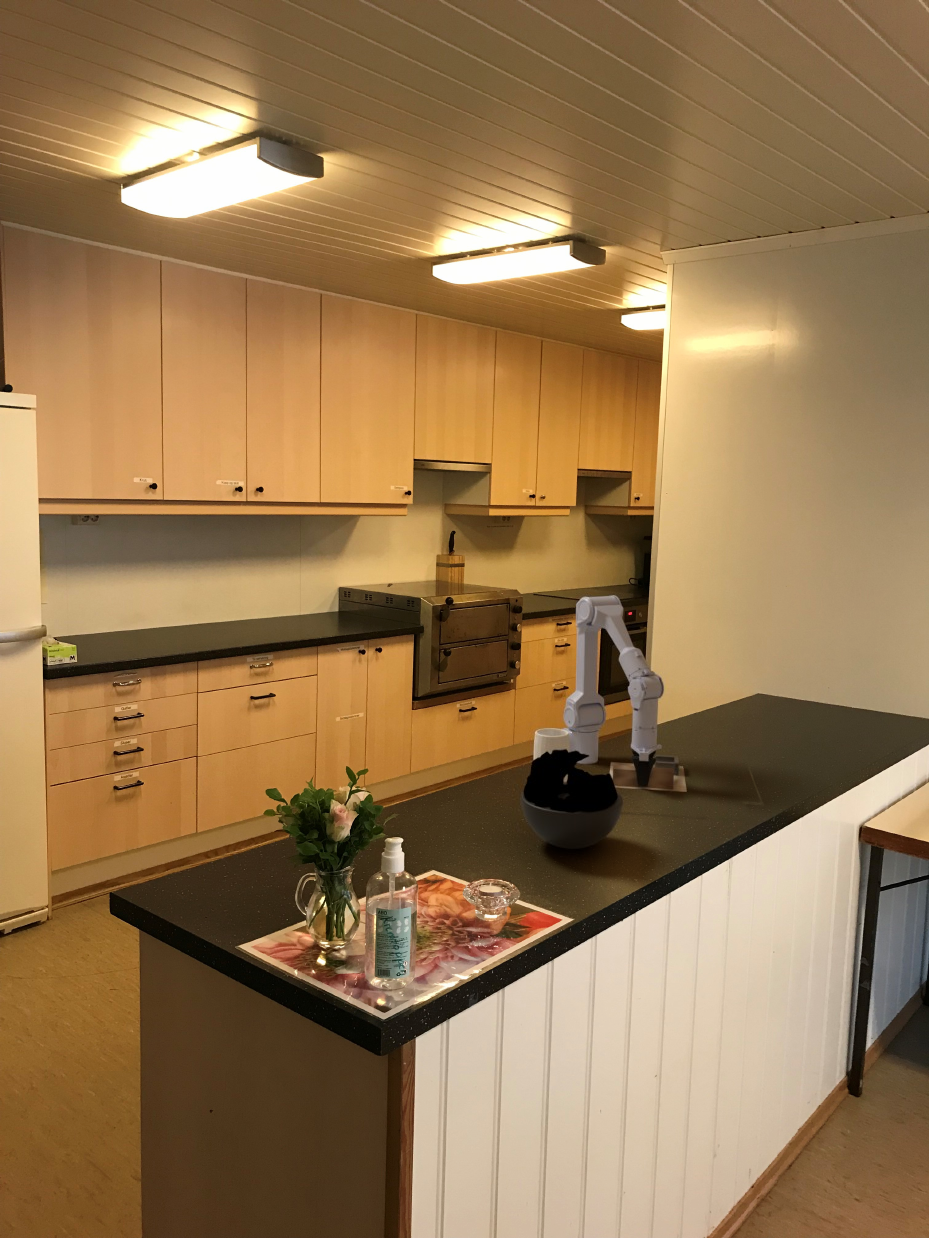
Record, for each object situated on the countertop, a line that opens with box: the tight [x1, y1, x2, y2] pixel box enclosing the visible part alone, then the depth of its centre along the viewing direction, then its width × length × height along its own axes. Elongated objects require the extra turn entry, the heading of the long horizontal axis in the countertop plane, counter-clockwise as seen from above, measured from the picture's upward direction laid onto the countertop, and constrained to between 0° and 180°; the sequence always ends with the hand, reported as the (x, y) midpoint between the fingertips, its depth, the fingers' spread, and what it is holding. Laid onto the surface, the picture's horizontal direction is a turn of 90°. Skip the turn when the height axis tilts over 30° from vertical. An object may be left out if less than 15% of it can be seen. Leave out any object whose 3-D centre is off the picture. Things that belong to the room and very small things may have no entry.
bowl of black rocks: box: [520, 749, 624, 850], centre depth 193 cm, size 20×20×19 cm
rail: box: [613, 765, 674, 789], centre depth 231 cm, size 14×3×4 cm, turn 80°
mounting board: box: [609, 761, 687, 793], centre depth 239 cm, size 18×21×1 cm
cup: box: [533, 727, 570, 782], centre depth 228 cm, size 8×8×14 cm
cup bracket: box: [654, 754, 680, 776], centre depth 243 cm, size 6×7×3 cm
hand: (642, 782), depth 232 cm, fingers open, 5 cm apart
